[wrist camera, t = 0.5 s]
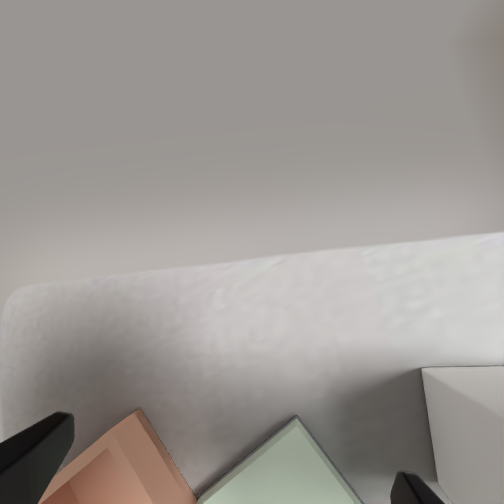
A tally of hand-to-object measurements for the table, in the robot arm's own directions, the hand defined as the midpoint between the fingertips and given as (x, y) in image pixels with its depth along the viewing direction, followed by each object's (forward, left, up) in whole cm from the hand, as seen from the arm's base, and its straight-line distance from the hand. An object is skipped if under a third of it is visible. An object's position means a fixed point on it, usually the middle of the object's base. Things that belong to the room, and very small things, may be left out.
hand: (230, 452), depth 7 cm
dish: (-1, +15, -13) cm, 20 cm away
